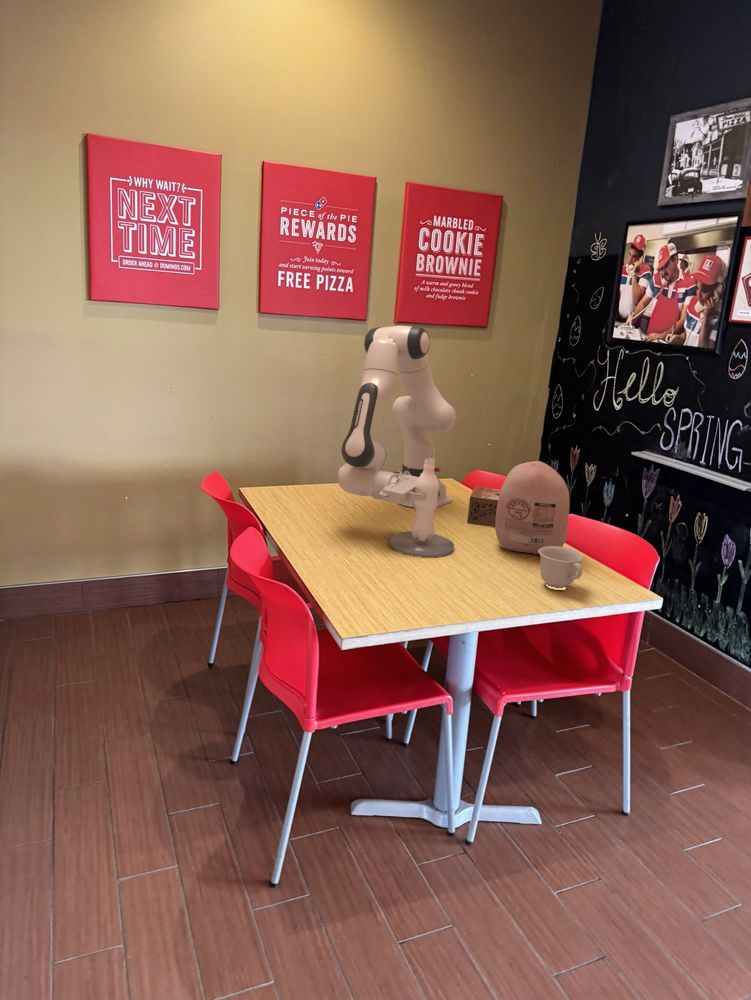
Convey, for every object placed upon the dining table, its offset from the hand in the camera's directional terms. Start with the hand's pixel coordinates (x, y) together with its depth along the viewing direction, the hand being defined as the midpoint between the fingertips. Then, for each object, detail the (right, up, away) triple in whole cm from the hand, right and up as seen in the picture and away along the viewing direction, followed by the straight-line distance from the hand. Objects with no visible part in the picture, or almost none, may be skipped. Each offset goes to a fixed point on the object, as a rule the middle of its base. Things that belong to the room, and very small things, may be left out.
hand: (429, 494), depth 219 cm
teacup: (+34, -26, -20) cm, 48 cm away
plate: (-2, -16, +5) cm, 17 cm away
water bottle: (-2, -14, +4) cm, 15 cm away
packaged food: (+31, -18, +7) cm, 37 cm away
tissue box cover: (+29, -10, +35) cm, 47 cm away
